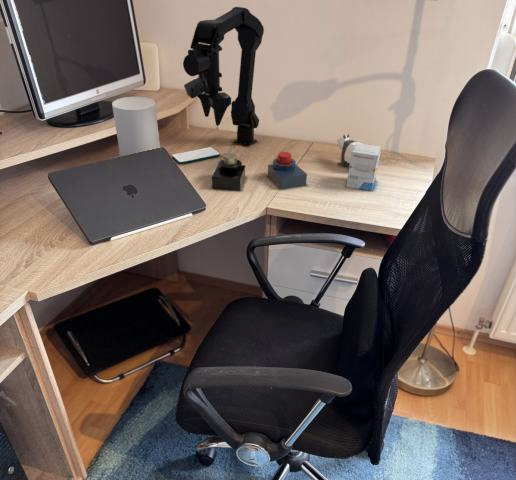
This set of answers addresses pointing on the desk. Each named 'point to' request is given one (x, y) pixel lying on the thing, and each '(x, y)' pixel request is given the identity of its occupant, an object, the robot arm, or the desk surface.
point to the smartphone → (195, 155)
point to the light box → (228, 176)
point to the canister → (136, 124)
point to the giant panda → (346, 149)
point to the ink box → (363, 166)
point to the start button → (284, 158)
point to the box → (286, 175)
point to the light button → (230, 159)
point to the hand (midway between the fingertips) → (212, 120)
